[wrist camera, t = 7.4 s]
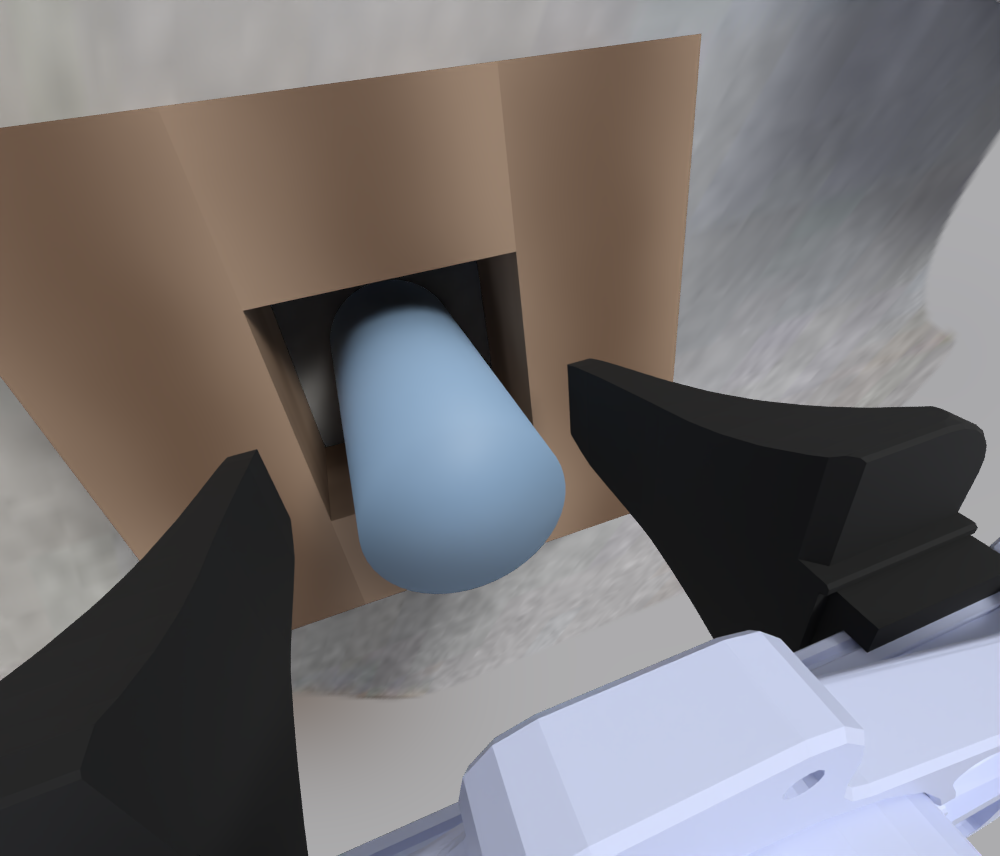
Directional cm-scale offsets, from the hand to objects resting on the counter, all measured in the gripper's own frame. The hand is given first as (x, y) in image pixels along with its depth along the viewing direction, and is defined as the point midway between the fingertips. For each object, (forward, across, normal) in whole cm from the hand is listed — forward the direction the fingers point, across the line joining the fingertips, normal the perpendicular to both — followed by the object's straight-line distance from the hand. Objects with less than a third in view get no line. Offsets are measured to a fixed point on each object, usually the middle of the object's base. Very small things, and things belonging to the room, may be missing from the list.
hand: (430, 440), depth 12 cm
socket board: (+6, 0, 0) cm, 6 cm away
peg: (+6, 0, 0) cm, 6 cm away
